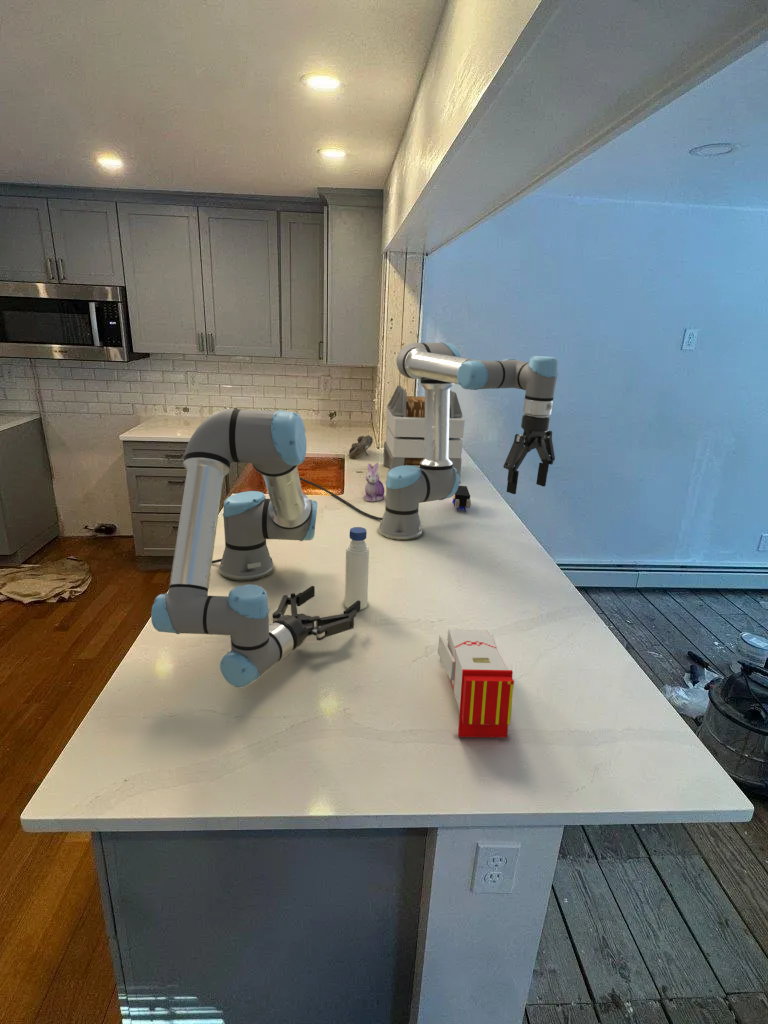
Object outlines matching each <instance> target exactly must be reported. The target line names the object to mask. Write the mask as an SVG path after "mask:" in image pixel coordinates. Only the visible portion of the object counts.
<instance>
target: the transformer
mask: <svg viewBox="0 0 768 1024" xmlns="http://www.w3.org/2000/svg"><path fill="white" fill-rule="evenodd" d="M407 394H408V393H407V390H406V389H404V388H403V387H402V385H399V384H398V385H397V386H396V388H395V390H394V392H393V394H392V395H391V398H390V400H389V402H388V404H387V405H386V413H385V414H386V415H385V423H386V428H385V438H384V442H383V466H384V467H388V468H389V471H390V470H391V469H393V468H395V467H398V466H404V465H406V466H409V465H412V466H417V467H420V462H421V461H422V460H423V459H424V423H425V396H415V395H414V396H413V395H412V396H411V395H407ZM464 429H465V419H464V418H463V411H462V408H461V405H460V402H459V398H458V395H457V392H455V391H453V390H452V389H450V409H449V454H448V458H449V460H450V461H451V462H452V463H453V467H454V468H455V469H456V470H457V474H458V475H459V483H461V472H462V461H463V460H462V453H463V442H464V441H463V440H462V439H463V438H464V431H465V430H464Z"/></svg>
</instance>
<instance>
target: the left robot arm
mask: <svg viewBox="0 0 768 1024" xmlns="http://www.w3.org/2000/svg"><path fill="white" fill-rule="evenodd" d="M306 455H307V435H306V427H305V423H304V421H303V418H302V417H301V415H300V414H298V413H297V412H294V411H286V410H284V409H280V410H279V409H278V410H274V409H273V410H272V409H271V410H269V409H268V410H267V409H238V408H225V409H221V410H218V411H216V412H214V413H212V414H211V415H209V416H207V418H206V419H204V420H203V421H202V422H201V423H200V424H199V426H197V428H196V429H195V431H194V432H193V434H192V435H191V437H190V439H189V441H188V443H187V446H186V447H185V450H184V456H183V462H182V466H183V468H184V469H185V470H186V476H185V481H184V490H183V495H182V501H181V507H180V513H179V520H178V525H177V533H176V540H175V546H174V552H173V558H172V565H171V572H170V577H169V584H168V586H169V587H168V591H167V592H166V593H160V594H157V596H156V597H155V599H154V601H153V604H152V606H151V612H150V613H151V614H150V617H151V624H152V627H153V628H154V630H156V631H157V632H159V633H167V634H169V633H170V634H176V635H180V634H188V635H189V634H191V635H192V634H193V635H213V636H215V635H217V636H230V648H231V649H230V650H229V651H227V652H226V654H225V655H223V656H222V659H221V660H220V662H219V669H220V673H221V675H222V677H223V678H224V680H225V681H226V682H227V683H228V684H229V685H231V686H234V687H235V688H239V689H240V688H241V689H242V688H245V687H247V686H248V685H250V684H251V683H253V682H255V681H257V680H258V679H260V677H261V676H263V675H264V674H265V673H266V672H267V671H269V670H270V669H271V668H273V667H274V666H275V665H276V664H278V663H279V662H280V661H281V660H283V659H284V658H286V656H288V655H289V654H290V653H291V652H293V651H294V650H296V649H297V648H298V647H300V646H301V645H302V644H303V643H304V641H305V640H306V639H307V637H310V636H315V637H316V641H322V640H324V639H326V638H327V637H331V636H334V635H337V634H340V633H343V632H347V631H349V630H353V629H355V618H356V617H357V615H358V614H359V613H360V612H361V610H360V605H361V601H359V600H358V601H356V602H355V603H354V604H352V605H351V606H350V607H349V608H347V607H346V609H345V610H343V612H342V613H340V614H335V615H334V614H333V615H328V616H322V617H321V616H319V615H316V616H315V615H314V616H311V615H307V614H305V613H298V608H297V607H300V606H302V605H304V604H305V603H307V602H308V601H310V600H312V599H313V598H314V597H315V595H316V589H315V587H316V586H314V585H311V586H310V587H308V588H306V589H305V590H303V591H302V592H301V591H300V592H299V593H294V592H292V593H290V595H287V594H284V595H282V597H281V599H280V601H279V604H278V606H277V609H276V610H275V611H273V612H272V618H271V619H272V622H271V623H270V615H269V614H270V608H269V603H268V600H269V599H268V593H267V591H266V590H265V589H264V588H263V587H262V586H259V585H257V584H251V583H249V584H248V583H247V584H245V585H237V586H235V587H233V588H232V589H231V590H230V591H229V592H228V596H226V595H209V586H210V579H211V571H212V565H213V564H216V563H220V565H219V570H220V571H219V572H220V574H221V575H222V576H223V577H224V578H226V579H229V580H233V581H237V582H238V581H240V582H243V581H244V582H247V581H254V580H255V581H256V580H260V579H263V578H265V577H267V576H268V575H270V574H271V573H272V572H273V570H274V561H273V557H271V555H270V554H271V553H270V551H269V548H268V545H267V540H279V541H280V540H281V541H282V540H283V541H299V542H303V541H312V540H313V539H314V538H315V532H316V524H317V513H318V502H317V501H316V500H313V499H309V497H308V496H307V495H306V494H305V493H304V492H303V488H302V484H301V480H300V478H301V477H300V474H299V469H298V466H299V465H301V464H303V463H304V461H305V459H306ZM232 463H239V464H240V463H241V464H251V465H252V467H253V468H254V470H255V471H256V472H257V473H259V474H260V475H262V478H263V481H264V484H265V487H266V491H267V493H268V497H269V498H266V494H265V493H264V492H262V491H259V490H250V491H242V492H237V493H235V494H232V495H230V496H228V497H227V498H226V499H225V500H224V502H223V512H222V517H223V531H224V550H223V552H222V558H218V559H213V557H214V550H215V543H216V535H217V529H218V519H219V515H220V514H219V513H220V505H221V499H222V492H223V484H224V477H225V476H227V475H228V474H229V473H230V468H231V464H232ZM299 477H300V478H299ZM289 606H290V614H286V611H287V609H288V607H289ZM315 622H316V625H315Z"/></svg>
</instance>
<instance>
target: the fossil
mask: <svg viewBox="0 0 768 1024" xmlns="http://www.w3.org/2000/svg"><path fill="white" fill-rule="evenodd" d="M373 443H374V442H373V437H372V436H371V435H366V436H365V435H361V436H358V437H357V442H353V443H352V444H351V447H350V448H349V450H348V457H349V459H353V460H354V459H356V458H358V457H360V456H361V455H363V454H366V456H368V455H369V454H368V452H367V450H368V449H369V448H371V446H372V444H373Z"/></svg>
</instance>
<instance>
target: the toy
mask: <svg viewBox="0 0 768 1024" xmlns="http://www.w3.org/2000/svg"><path fill="white" fill-rule="evenodd" d="M446 640H447V643H446V641H445V639H444V636H443V635H442V634H439V637H438V646H437V656H438V657H439V659H440V661H441V663H442V666H443V668H444V670H445V672H446V674H447V677H448V679H449V681H450V684H451V687H452V690H453V693H454V697H455V701H456V705H457V708H458V711H459V714H458V715H459V716H458V730H457V731H458V732H457V737H458V738H508V731H509V726H510V725H511V717H512V707H513V697H514V696H513V695H514V684H515V680H514V679H513V673H514V671H513V670H512V669H508V667H507V665H506V662H505V661H504V659H503V658H502V655H501V653H500V651H499V649H498V647H497V643H496V639H495V637H494V635H493V634H491V632H490V631H489V629H467V628H466V629H465V628H463V629H461V628H460V629H459V628H448V630H447V639H446Z"/></svg>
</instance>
